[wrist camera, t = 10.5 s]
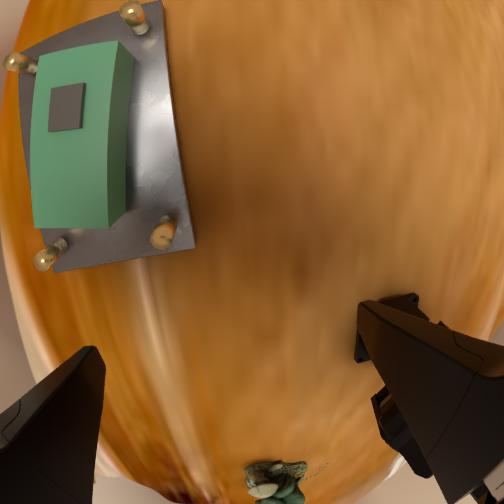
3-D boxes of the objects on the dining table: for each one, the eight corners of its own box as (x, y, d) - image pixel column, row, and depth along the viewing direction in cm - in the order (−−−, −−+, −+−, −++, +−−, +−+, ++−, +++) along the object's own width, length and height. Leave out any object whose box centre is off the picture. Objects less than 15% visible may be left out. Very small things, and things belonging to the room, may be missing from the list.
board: (125, 212, 17) (106, 230, 14) (60, 213, 17) (31, 230, 13) (134, 57, 14) (116, 37, 10) (65, 67, 13) (36, 54, 9)
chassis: (196, 240, 20) (193, 267, 16) (62, 265, 19) (36, 292, 15) (164, 8, 14) (154, -22, 10) (28, 57, 13) (-4, 46, 9)
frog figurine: (205, 448, 30) (211, 528, 19) (342, 431, 32) (372, 499, 22) (214, 494, 36) (220, 549, 26) (317, 481, 39) (334, 532, 28)
